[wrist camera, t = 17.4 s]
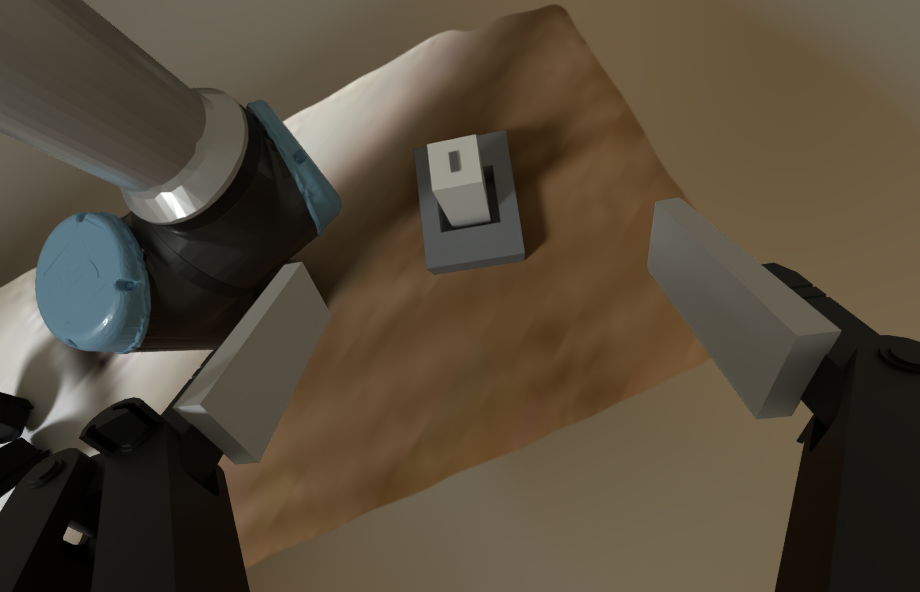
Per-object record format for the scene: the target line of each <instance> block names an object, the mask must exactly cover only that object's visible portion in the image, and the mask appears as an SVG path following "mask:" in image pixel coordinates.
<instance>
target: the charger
mask: <svg viewBox="0 0 920 592" xmlns="http://www.w3.org/2000/svg"><path fill="white" fill-rule="evenodd" d="M427 149H428V157H429V166H430V175H431V184H432V191H433V193H434V195H435V197H436V198H437V200H438V202H439V204H440V205H441V207H442V209H443V211H444V213H445V214H446V216H447V218H448V220H449V222H450V223H451V225H452V227H453V229H455V228H461V227H467V226H473V225H479V224H485V223H491V218H490V211H489V203H488V196H487V189H486V183H485V178H484V173H483V168H482V163H481V158H480V153H479V148H478V143H477V138H476V134H475V135H470V136H465V137H461V138H456V139H451V140H446V141H441V142H436V143H431V144H427Z"/></svg>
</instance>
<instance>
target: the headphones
mask: <svg viewBox="0 0 920 592" xmlns="http://www.w3.org/2000/svg"><path fill="white" fill-rule="evenodd" d="M32 408H34V407H33V406H32V405H31V403H30V402H29V401H28V400H27V399H23V398H20V397H16V396H12V395H9V394H5V393H2V392H0V444H4V443H7V442H10V443H8V444H6V445H4V446H2V447H1V448H0V498H1V497H2V496H3V495H5V494H6V493H7V492H9V491H10V490H11V489H13V488H14V487H16V486H17V485H18V483H19V482H20V481H21V480H22V478H23V477H24V476H25V475H26V474H27V473H28V472H29V471H31V469H32V468H33V467H34V466H35V465H37V464H38V463H41V461H42V460H44V459H45V458H47V457H49V449H48V450H46V451H45V452H44V453H42V454H41V452H40V451H39V450H38V449H36V448H35V447H34V446H33V445H31V444H30V443H29V442H27V441H26V440H25V439H24V438H19V437H20V436H21V435H22V433H23V430H24V427H25V424H26V421H27V418H28V411H30V410H31V409H32ZM11 441H12V442H11ZM39 454H41V455H39ZM38 455H39V456H38Z"/></svg>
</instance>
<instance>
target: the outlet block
mask: <svg viewBox="0 0 920 592" xmlns="http://www.w3.org/2000/svg"><path fill="white" fill-rule="evenodd" d="M476 138H477V143H478V148H479V153H480V158H481V163H482V168H483V173H484V178H485V183H486V189H487V196H488V203H489V211H490V218H491V223H485V224H479V225H473V226H467V227H461V228H455V229H453V227H452V225H451V223H450V222H449V220H448V218H447V216H446V214H445V213H444V211H443V209H442V207H441V205H440V204H439V202H438V200H437V198H436V197H435V195H434V193H433V191H432V184H431V175H430V166H429V157H428V149H427V146H426V147H421V148H416V149H414V158H415V167H416V176H417V185H418V194H419V203H420V212H421V221H422V230H423V239H424V248H425V257H426V265H427V269H428V270H429V271H430V272H432V273H433V274H434V275H436V274H442V273H449V272H455V271H461V270H468V269H474V268H481V267H487V266H494V265H500V264H506V263H513V262H519V261H524V258H525V250H524V244H523V238H522V231H521V225H520V218H519V212H518V205H517V199H516V192H515V186H514V180H513V173H512V167H511V160H510V154H509V147H508V141H507V134H506V130H503V131H498V132H493V133H488V134H483V135H479V136H476Z"/></svg>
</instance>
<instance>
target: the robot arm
mask: <svg viewBox="0 0 920 592" xmlns="http://www.w3.org/2000/svg"><path fill="white" fill-rule="evenodd" d="M0 133H3V134H5V135H7V136H9V137H11V138H14V139H16V140H18V141H20V142H22V143H25V144H27V145H29V146H31V147H33V148H36V149H38V150H40V151H42V152H44V153H47V154H49V155H51V156H53V157H56V158H58V159H60V160H62V161H64V162H66V163H69V164H71V165H73V166H75V167H78V168H80V169H82V170H84V171H86V172H89V173H91V174H93V175H95V176H98V177H100V178H102V179H104V180H106V181H108V182H111V183H113V184H115V185H117V186H119V187H120V188H121V191H122V194H123V196H124V199H125V201H126V203H127V205H128V207H129V208H130V210H131V211H130V212H129V213H128V214H127V215H126V216H124V217H122V218H118V217H117V216H115V215H113V214H110V213H107V212H100V213H97V212H90V213H86V212H83V213H78V214H74V215H72V216H70V217H69V218H67V219H66V220H64V221H63V222H61V223H60V224H59V225H58V226H57V227H56V228H55V229H54V230H53V232H52V233H51V234H50V236H49V237H48V239H47V241H46V242H45V244H44V246H43V249H42V252H41V254H40V257H39V261H38V265H37V270H36V282H35V290H36V299H37V304H38V308H39V311H40V313H41V316H42V318H43V320H44V322H45V324H46V325H47V327H48V329H49V330H50V331H51V332H52V333H53V334H54V335H55V336H56V337H57V338H58V339H59V340H60V341H62V342H63V343H65V344H67V345H69V346H71V347H73V348H77V349H80V350H85V351H104V352H115V353H118V354H128V353H132V352H157V351H185V350H214V351H212V352H211V353H210V354H209V356H208V357H207V358H206V359H205V361H204V362H203V363H202V364H201V366H200V368H199V369H197V371H196V372H195V373H194V374H193V376H192V379H189V381H188V382H187V383H186V384H185V386H184V387H183V388H182V389H181V391H180V392H179V393H178V394H177V396H176V397H175V398H174V399H173V401H172V402H171V403H170V404H169V406H168V407H167V408H166V409H165V411H164V412H163V413H162V414H161V416H160V415H159V414H158V413H157V412H155V411H154V410H153V409H152V408H151V407H150V406H148V405H147V404H146V403H145V402H144V401H143V400H141V399H140V398H135V397H133V398H128V399H124V400H122V401H120V402H117V403H115V404H113V405H111V406H110V407H108V408H107V409H105V410H103V411H102V412H101V413H99V414H98V415H97V416H96V417H95V418H93V419H92V420H91V421H90V422H89V423H88V424H87V426H86V427H85V428H84V429H83V430H82V433H81V435H80V437H79V439H81V440H82V441H84V442H85V443H87V444H88V445H90V446H91V447H93V448H94V449H96V450H97V451H99V452H100V454H97V455H94V456H92V457H89V456H87V455H86V454H84V453H83V452H81V451H80V450H78V449H77V448H68V449H65V450H62V451H59V452H57V453H55V454H53V455H52V456H50V457H47V458H45V459H44V460H42V461H41V463H38V464H37V465H35V466H34V467H33V468H32V469H31V471H29V472H28V473H27V474H26V475H25V476H24V477H23V478H22V480H21V481H20V482H19V483H18V485H17V486H16V487H15V489H14V490H13V492H12V494H11V495H10V497H9V499H8V500H7V502H6V503H5V505H4V507H3V508H2V510H1V512H0V592H250V590H249V586H248V581H247V576H246V572H245V567H244V562H243V558H242V553H241V548H240V544H239V539H238V535H237V530H236V525H235V521H234V516H233V511H232V507H231V502H230V498H229V493H228V488H227V484H226V479H225V474H224V471H223V470H222V468H221V467H220V466H219V465H218V462H219V461H220V459H221V457H222V455H223V454H224V455H226V456H227V457H228V458H229V459H230V460H231V461H232V462H233V463H234V464H247V463H259V462H260V460H261V458H262V456H263V454H264V452H265V450H266V448H267V445H268V443H269V441H270V439H271V437H272V435H273V433H274V431H275V429H276V427H277V425H278V423H279V421H280V419H281V417H282V415H283V413H284V410H285V408H286V406H287V404H288V402H289V400H290V398H291V396H292V394H293V392H294V390H295V388H296V386H297V384H298V382H299V380H300V378H301V375H302V373H303V371H304V369H305V367H306V365H307V363H308V361H309V359H310V357H311V355H312V353H313V351H314V349H315V347H316V345H317V342H318V340H319V338H320V336H321V334H322V332H323V330H324V328H325V326H326V324H327V322H328V320H329V318H330V316H331V314H330V312H329V310H328V308H327V306H326V305H325V303H324V301H323V299H322V297H321V295H320V293H319V292H318V290H317V288H316V286H315V284H314V282H313V281H312V279H311V277H310V275H309V273H308V271H307V269H306V268H305V266H304V264H303V262H297V263H295V262H293V261H291V260H289V259H290V258H292V257H293V256H294V255H295V254H296V253H298V252H299V251H300V250H301V249H302V248H304V247H305V246H306V245H307V244H308V243H310V242H311V241H312V240H313V239H314V238H316V237H317V236H319V235H320V234H321V233H322V230H323V229H324V228H325V227H326V226H327V225H328V224H329V223H330V222H331V221H332V220H333V219H334V218H335V217H336V216H337V215H338V214H339V212H340V209H341V200H340V198H339V195H338V194H337V192H336V191H335V190H334V188H333V187H332V186H331V184H330V183H329V182H328V180H327V179H326V178H325V176H324V175H323V174H322V172H321V171H320V170H319V168H318V167H317V166H316V165H315V163H314V162H313V161H312V159H311V158H310V157H309V155H308V154H307V153H306V152H305V150H304V149H303V148H302V146H301V145H300V144H299V143H298V141H297V140H296V139H295V137H294V136H293V135H292V133H291V132H290V131H289V130H288V128H287V127H286V126H285V125H284V123H283V122H282V121H281V119H280V118H279V117H278V116H277V114H276V113H275V112H274V111H273V110H272V108H271V107H270V106H269V105H268V104H267V102H265V101H263V100H257V101H255V102H251V103H248V105H247V107H246V109H245V108H244V107H243V106H242V105H240V104H239V103H238V102H237V101H236V100H235V99H234V98H232V97H231V96H229V95H228V94H227V93H225V92H224V91H221V90H218V89H214V88H189V87H188V86H187V85H186V84H184V83H183V82H182V81H180V80H179V79H178V78H177V77H176V76H175V75H173V74H172V73H171V72H170V71H168V70H167V69H166V68H165V67H164V66H162V65H161V64H160V63H159V62H157V61H156V60H155V59H154V58H153V57H151V56H150V55H149V54H147V53H146V52H145V51H144V50H143V49H142V48H140V47H139V46H138V45H137V44H135V43H134V42H133V41H132V40H131V39H129V38H128V37H127V36H126V35H124V34H123V33H122V32H121V31H120V30H118V29H117V28H116V27H115V26H113V25H112V24H111V23H110V22H109V21H107V20H106V19H105V18H104V17H102V16H101V15H100V14H99V13H97V12H96V11H95V10H94V9H93V8H91V7H90V6H89V5H88V4H86V3H85V2H84V1H83V0H0ZM647 270H648V271H649V272H650V274H651V275H652V276H653V278H654V279H655V281H656V282H657V283H658V285H659V286H660V288H661V289H662V290H663V292H664V293H665V294H666V296H667V297H668V299H669V300H670V301H671V303H672V304H673V305H674V307H675V308H676V310H677V311H678V312H679V314H680V315H681V317H682V318H683V319H684V321H685V322H686V323H687V325H688V326H689V328H690V329H691V330H692V332H693V333H694V334H695V336H696V337H697V339H698V340H699V341H700V343H701V344H702V345H703V347H704V348H705V350H706V351H707V352H708V354H709V355H710V357H711V358H712V359H713V360H714V362H715V363H716V365H717V366H718V368H719V369H720V370H721V372H722V373H723V374H724V376H725V377H726V378H727V380H728V381H729V383H730V384H731V385H732V387H733V388H734V390H735V391H736V392H737V394H738V395H739V397H740V398H741V399H742V401H743V402H744V403H745V405H746V406H747V407H748V409H749V410H750V412H751V413H752V414H753V416H754V417H755V418H756V419H764V418H775V417H786V416H792V414H793V413H794V411H795V409H796V408H797V406H798V404H799V403H800V400H802V401H803V402H804V403H805V405H806V406H807V407H808V408H809V409H810V410H811V411H812V413H813V414H814V415H813V416H812V418H811V419H810V421H809V422H808V424H807V425H806V427H805V429H804V430H803V432H802V433H801V435H800V436H799V438H798V439H797V442H799V443H803V442H804V447H803V451H802V457H801V462H800V467H799V472H798V477H797V482H796V487H795V492H794V497H793V502H792V508H791V512H790V517H789V522H788V527H787V532H786V537H785V542H784V547H783V552H782V558H781V562H780V567H779V573H778V577H777V582H776V588H775V592H920V342H918V341H915V340H912V339H909V338H904V337H897V336H891V335H879V334H878V333H876V332H875V331H874V330H873V329H871V328H870V327H869V326H867V325H866V324H865V323H863V322H862V321H861V320H859V319H858V318H857V317H855V316H854V315H853V314H851V313H850V312H849V311H847V310H846V309H845V308H843V307H842V306H841V305H839V304H838V303H837V302H836V301H834V300H833V299H831V298H830V297H826V294H825V293H824V292H822V291H821V290H820V289H818V288H817V287H813V286H812V285H813V284H811V283H810V282H809V281H808V280H806V279H805V278H804V277H802V276H801V275H800V274H798V273H797V272H795V271H793V270H790V269H788V268H786V267H783V266H781V265H778V264H776V263H769V264H760V263H759V262H757V261H756V260H755V259H754V258H753V257H751V256H750V255H749V254H748V253H746V252H745V251H744V250H743V249H742V248H740V247H739V246H738V245H737V244H736V243H734V242H733V241H732V240H731V239H729V238H728V237H727V236H726V235H725V234H723V233H722V232H721V231H720V230H718V229H717V228H716V227H715V226H714V225H712V224H711V223H710V222H709V221H707V220H706V219H705V218H704V217H703V216H701V215H700V214H699V213H698V212H697V211H695V210H694V209H693V208H692V207H690V206H689V205H688V204H687V203H686V202H684V201H683V200H682V199H681V198H680V197H679V198H673V199H667V200H662V201H656V202H655V210H654V217H653V225H652V233H651V240H650V248H649V255H648V263H647ZM67 527H70V528H72V529H74V530H76V531H78V532H80V533H83V535H82V538H81V540H80V542H79V543H78V545H73V544H71V543H69V542H66V541H64V540H63V536H64V534H65V532H66V530H67Z"/></svg>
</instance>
